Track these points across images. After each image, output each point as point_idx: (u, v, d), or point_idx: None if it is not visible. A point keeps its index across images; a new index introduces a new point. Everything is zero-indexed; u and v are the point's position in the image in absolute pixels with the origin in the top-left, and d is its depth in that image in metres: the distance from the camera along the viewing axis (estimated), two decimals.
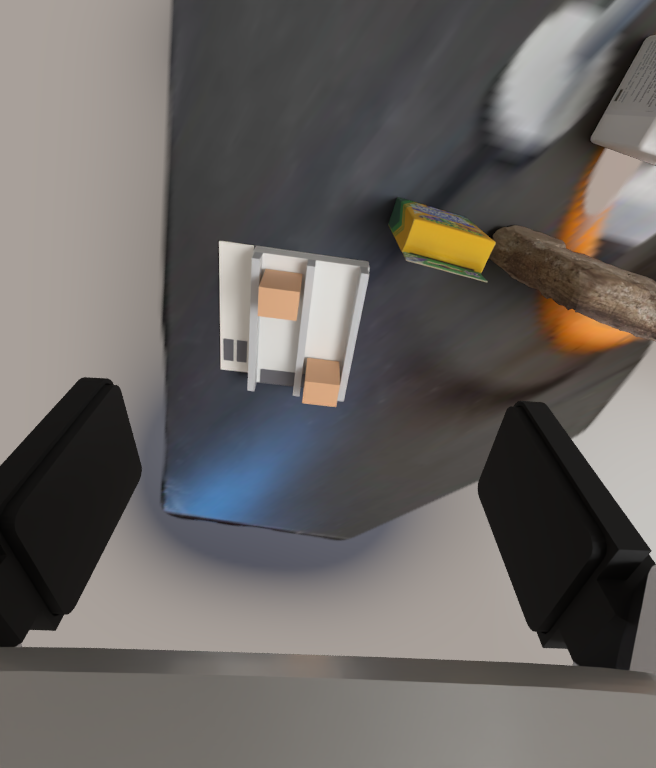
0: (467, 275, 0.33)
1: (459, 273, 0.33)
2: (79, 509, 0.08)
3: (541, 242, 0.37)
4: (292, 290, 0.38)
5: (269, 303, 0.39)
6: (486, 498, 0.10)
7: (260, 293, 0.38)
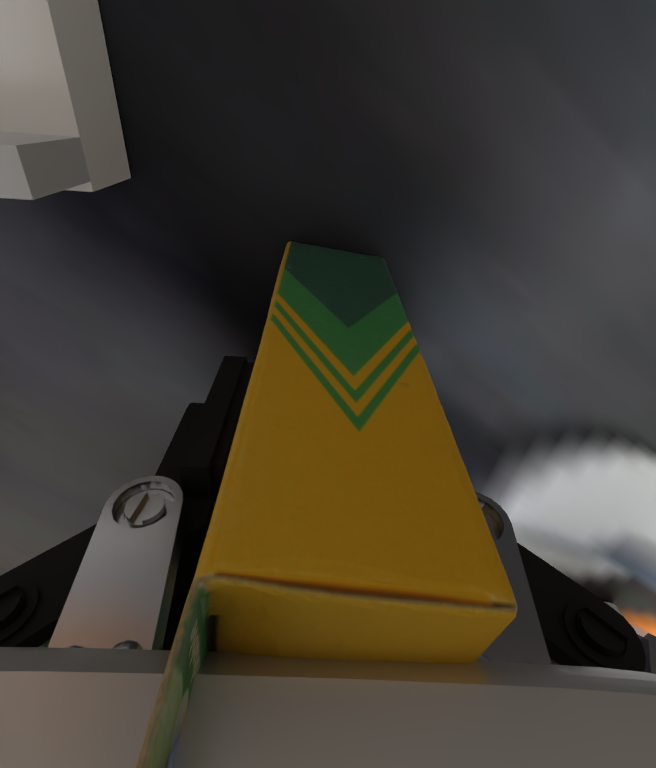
0: None
1: None
2: None
3: None
4: None
5: None
6: None
7: None
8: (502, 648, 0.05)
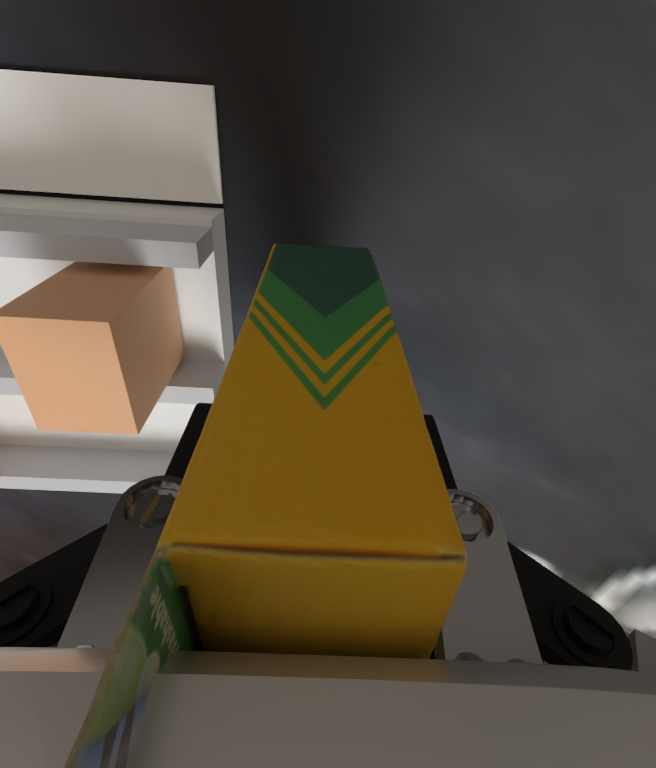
0: None
1: None
2: None
3: None
4: (136, 413, 0.12)
5: (58, 355, 0.11)
6: None
7: (84, 327, 0.10)
8: (493, 647, 0.05)
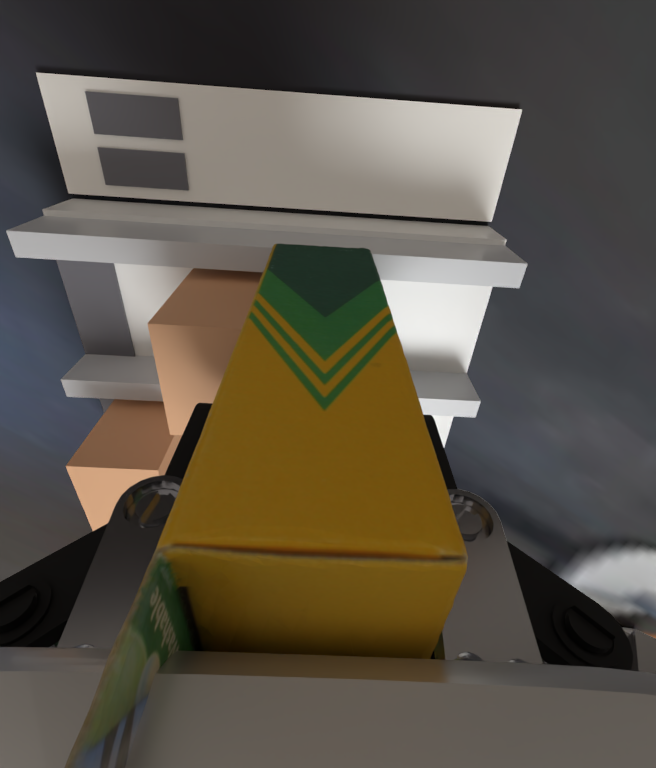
0: None
1: None
2: None
3: None
4: None
5: (207, 361, 0.11)
6: None
7: None
8: (493, 646, 0.05)
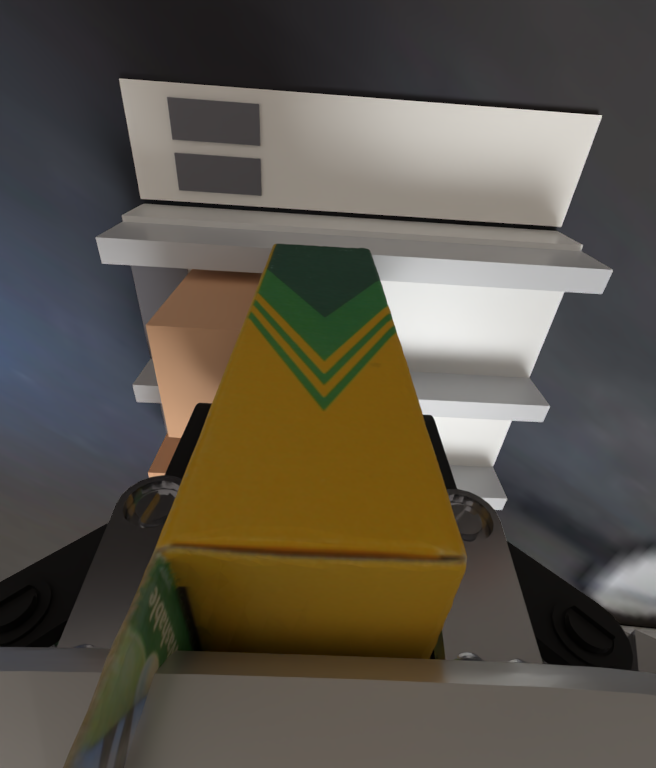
0: None
1: None
2: None
3: None
4: None
5: (206, 363, 0.11)
6: None
7: None
8: (493, 647, 0.05)
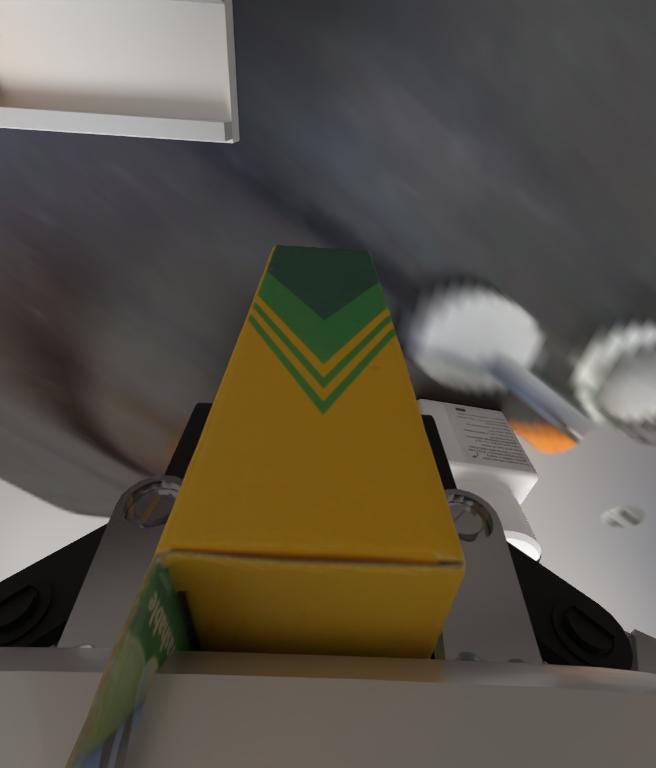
0: None
1: None
2: None
3: None
4: None
5: None
6: None
7: None
8: (493, 647, 0.05)
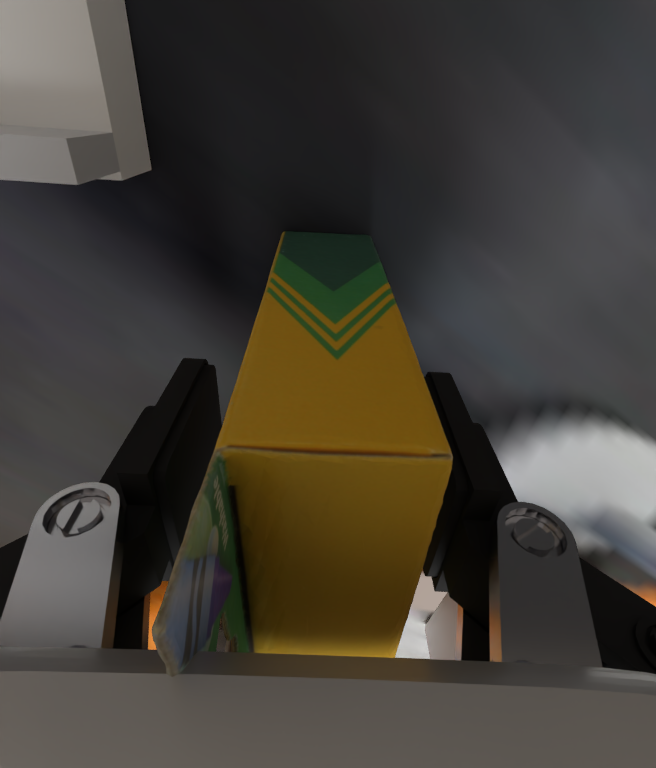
0: None
1: None
2: (194, 473, 0.09)
3: None
4: None
5: None
6: None
7: None
8: (554, 662, 0.05)
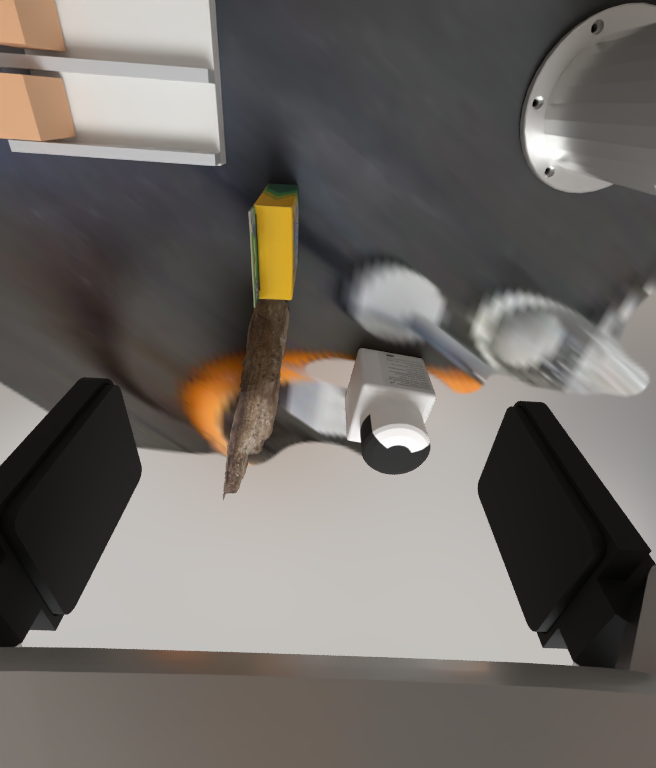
0: (254, 285, 0.31)
1: (253, 276, 0.30)
2: (79, 509, 0.08)
3: (284, 340, 0.40)
4: (23, 31, 0.26)
5: None
6: (486, 498, 0.10)
7: None
8: None
